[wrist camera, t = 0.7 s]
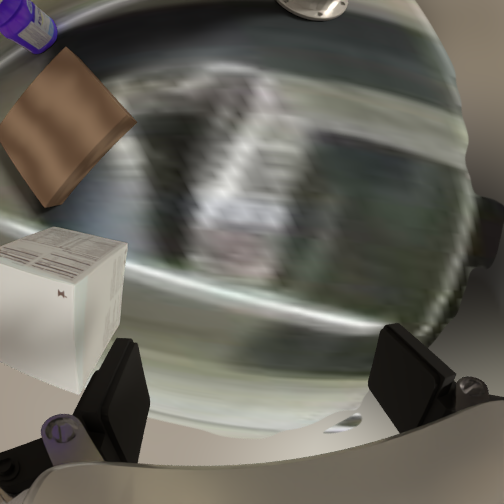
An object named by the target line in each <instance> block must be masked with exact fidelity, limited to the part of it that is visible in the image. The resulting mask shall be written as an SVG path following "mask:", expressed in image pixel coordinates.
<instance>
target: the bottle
mask: <svg viewBox="0 0 504 504" xmlns="http://www.w3.org/2000/svg"><path fill="white" fill-rule="evenodd" d="M0 32H1V33H2V34H3V35H4V36H5V37H6V38H8V39H10V40H12V41H14V42H15V43H17V44H19V45H20V46H22V47H23V48H25V49H27V50H28V51H30V52H31V53H33V54H40V53H42V52H44V51H45V50H47V49H48V48H49V47H51V46H52V45H53V44H54V42H55V41H56V39H57V27H56V25H55V23H54V21H53V20H52V19H51V18H50V17H48V16H47V15H46V14H45V13H44V12H43V11H42V10H40V9H39V8H38V7H37V6H36V5H35V4H34V3H33V2H31V0H0Z"/></svg>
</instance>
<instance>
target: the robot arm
mask: <svg viewBox="0 0 504 504" xmlns="http://www.w3.org/2000/svg"><path fill="white" fill-rule="evenodd" d="M276 1H277V2H278V3H279V4H280V5H281V6H282V7H283V8H285V9H286V10H287V11H289V12H291V13H293V14H295V15H297V16H300V17H302V18H306V19H310V20H316V21H326V20H332V19H334V18H337V17H338V16H340V15H341V14H342V13H343V12H344V11H345V9H346V8H347V4H348V0H276ZM455 376H456V373H455V372H453V371H452V370H451V369H450V368H449V367H448V366H447V365H446V364H445V363H444V362H442V361H441V360H440V359H439V358H438V357H437V356H436V355H435V354H433V353H432V352H431V351H430V350H429V349H428V348H427V347H426V346H424V345H423V344H422V343H421V342H420V341H419V340H418V339H416V338H415V337H414V336H413V335H412V334H411V333H410V332H408V331H407V330H406V329H405V328H404V327H403V326H401V325H400V324H399V323H395V324H389V325H385V326H384V328H383V329H382V330H381V331H380V334H379V339H378V343H377V348H376V352H375V356H374V360H373V364H372V368H371V372H370V376H369V380H368V387H369V389H370V391H371V392H372V394H373V395H374V397H375V398H376V399H377V401H378V402H379V404H380V405H381V407H382V408H383V410H384V411H385V412H386V414H387V415H388V417H389V418H390V419H391V421H392V423H393V424H394V426H395V427H396V428H397V430H398V431H399V433H400V434H397V435H394V436H391V437H388V438H385V439H381V440H378V441H375V442H371V443H368V444H364V445H360V446H356V447H352V448H348V449H344V450H339V451H335V452H330V453H326V454H320V455H315V456H309V457H303V458H297V459H291V460H283V461H275V462H266V463H256V464H243V465H224V466H172V465H153V464H138V458H139V453H140V448H141V443H142V439H143V434H144V429H145V425H146V420H147V416H148V412H149V407H150V397H149V393H148V389H147V385H146V380H145V376H144V371H143V367H142V362H141V357H140V352H139V347H138V344H137V343H133V340H132V339H128V338H116V340H115V342H114V343H113V345H112V347H111V349H110V351H109V352H108V354H107V356H106V358H105V360H104V362H103V364H102V365H101V367H100V369H99V370H97V371H95V373H94V374H93V376H92V378H91V380H90V381H89V383H88V385H87V387H86V389H85V391H84V393H83V395H82V397H81V399H80V401H79V403H78V405H77V407H76V409H75V411H74V413H73V415H69V414H59V415H55V416H52V417H50V418H49V419H47V420H46V421H45V422H44V424H43V425H42V428H41V436H42V438H40V439H37V440H34V441H32V442H29V443H27V444H24V445H21V446H18V447H15V448H13V449H10V450H7V451H4V452H1V453H0V504H504V397H500V396H495V395H489V390H488V387H487V385H486V384H485V382H483V381H482V380H480V379H478V378H476V377H472V376H466V377H462V378H460V379H459V380H458V381H457V383H456V382H455V381H454V379H455Z"/></svg>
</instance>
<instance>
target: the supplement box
mask: <svg viewBox="0 0 504 504" xmlns="http://www.w3.org/2000/svg"><path fill="white" fill-rule="evenodd" d="M127 249H128V243H124V242H120V241H115V240H111V239H106V238H102V237H98V236H93V235H89V234H85V233H80V232H76V231H72V230H67V229H63V228H59V227H52V228H49V229H46V230H43V231H40V232H37V233H35V234H32V235H29V236H26V237H24V238H21V239H18V240H16V241H13V242H11V243H8V244H5V245H3V246H0V362H1V363H4V364H6V365H7V366H10V367H11V368H14V369H16V370H18V371H20V372H22V373H24V374H27V375H29V376H31V377H34V378H36V379H39V380H41V381H43V382H46V383H48V384H51V385H53V386H56V387H58V388H61V389H64V390H66V391H69V392H72V393H75V394H77V395H80V393H81V391H82V389H83V388H84V386H85V384H86V382H87V380H88V378H89V376H90V375H91V373H92V371H93V369H94V367H95V365H96V364H97V362H98V360H99V358H100V356H101V355H102V353H103V351H104V349H105V348H106V346H107V344H108V342H109V341H110V339H111V337H112V336H113V334H114V332H115V331H116V329H117V327H118V326H119V324H120V314H121V301H122V291H123V281H124V272H125V263H126V256H127Z"/></svg>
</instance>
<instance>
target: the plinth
mask: <svg viewBox="0 0 504 504" xmlns="http://www.w3.org/2000/svg"><path fill="white" fill-rule="evenodd" d="M136 123H137V122H136V120H135V119H134V118H133V117H132V116H131V115H130V114H129V113H128V112H127V110H126V109H125V108H124V107H123V106H122V105H121V104H120V103H119V102H118V100H117V99H116V98H115V97H114V96H113V95H112V94H111V93H110V92H109V90H108V89H107V88H106V87H105V86H104V85H103V84H102V83H101V81H100V80H99V79H98V78H97V77H96V76H95V75H94V74H93V73H92V71H91V70H90V69H89V68H88V67H87V66H86V65H85V64H84V63H83V61H82V60H81V59H80V58H79V57H78V56H76V55H75V54H74V53H73V52H72V51H71V50H69V49H68V48H67V47H65V48H64V49H63V50H62V51H61V52H60V53H59V54H58V55H57V56H56V57H55V58H54V59H53V60H52V61H51V62H50V63H49V64H48V65H47V66H46V67H45V68H44V70H43V71H42V72H41V73H40V74H39V75H38V76H37V77H36V79H35V80H34V81H33V82H32V83H31V84H30V86H29V87H28V88H27V89H26V90H25V92H24V93H23V94H22V95H21V97H20V98H19V99H18V101H17V102H16V103H15V105H14V106H13V107H12V109H11V110H10V111H9V113H8V114H7V115H6V117H5V118H4V120H3V121H2V123H1V124H0V142H1V144H2V146H3V147H4V149H5V151H6V152H7V154H8V155H9V157H10V159H11V160H12V162H13V163H14V165H15V166H16V168H17V169H18V171H19V172H20V174H21V175H22V177H23V178H24V180H25V181H26V183H27V184H28V186H29V187H30V188H31V190H32V191H33V193H34V194H35V195H36V197H37V198H38V200H39V201H40V202H41V204H42V205H43V206H44V208H46V207H51V206H56V205H61V204H62V203H63V202H64V201H65V200H66V198H67V197H68V196H69V195H70V194H71V192H72V191H73V190H74V189H75V187H76V186H77V185H78V184H79V183H80V182H81V180H82V179H83V178H84V177H85V176H86V175H87V173H88V172H89V171H90V170H91V169H92V168H93V167H94V166H95V165H96V163H97V162H98V161H99V160H100V159H101V158H102V157H103V156H104V155H105V154H106V153H107V152H108V151H109V150H110V149H111V148H112V147H113V145H114V144H115V143H116V142H117V141H118V140H119V139H120V138H121V137H122V136H123V135H124V134H126V133H127V132H128V131H129V130H130V129H131V128H132V127H133V126H134V125H135V124H136Z"/></svg>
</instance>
